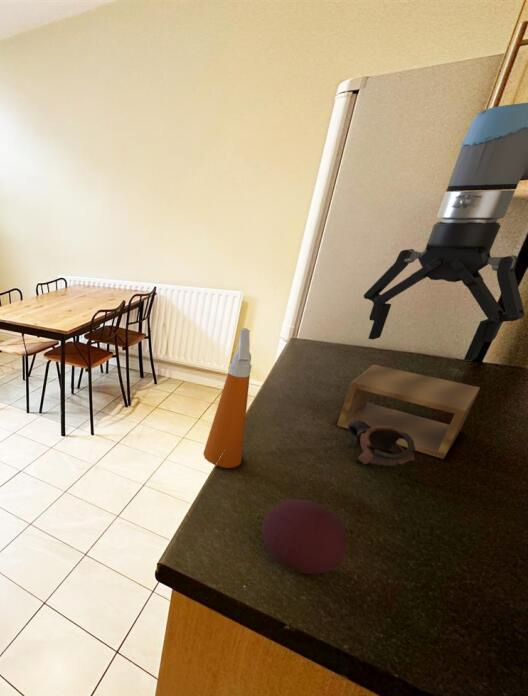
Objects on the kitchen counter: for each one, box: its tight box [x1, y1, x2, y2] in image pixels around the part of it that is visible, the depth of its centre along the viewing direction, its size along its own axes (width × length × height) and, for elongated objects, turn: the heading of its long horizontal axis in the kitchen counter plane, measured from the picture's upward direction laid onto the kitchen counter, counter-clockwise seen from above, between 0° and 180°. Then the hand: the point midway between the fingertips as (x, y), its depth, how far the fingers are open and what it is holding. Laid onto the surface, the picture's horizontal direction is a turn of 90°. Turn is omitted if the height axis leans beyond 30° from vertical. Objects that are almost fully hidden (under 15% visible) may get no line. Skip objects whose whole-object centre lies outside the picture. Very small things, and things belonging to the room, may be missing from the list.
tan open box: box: [336, 364, 481, 460], centre depth 91 cm, size 18×16×11 cm
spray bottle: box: [202, 327, 252, 469], centre depth 81 cm, size 7×11×26 cm, turn 156°
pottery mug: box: [347, 420, 416, 467], centre depth 83 cm, size 12×10×8 cm
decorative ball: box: [261, 498, 349, 575], centre depth 58 cm, size 10×10×10 cm
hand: (418, 347), depth 74 cm, fingers open, 13 cm apart
